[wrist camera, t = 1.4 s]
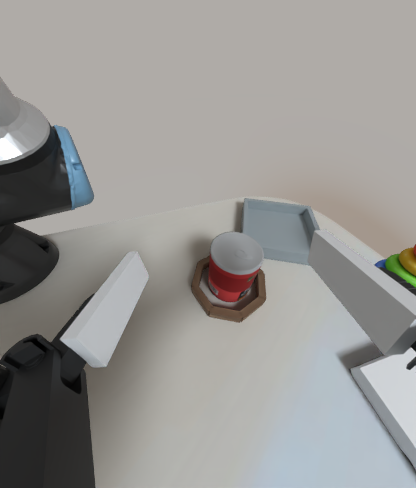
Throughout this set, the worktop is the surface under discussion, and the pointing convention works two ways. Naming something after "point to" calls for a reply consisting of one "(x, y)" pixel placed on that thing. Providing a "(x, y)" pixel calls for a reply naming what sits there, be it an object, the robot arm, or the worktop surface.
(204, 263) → the holder ring
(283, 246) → the tray
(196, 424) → the worktop surface
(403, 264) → the stacking toy
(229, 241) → the canned food
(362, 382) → the white platform stand
